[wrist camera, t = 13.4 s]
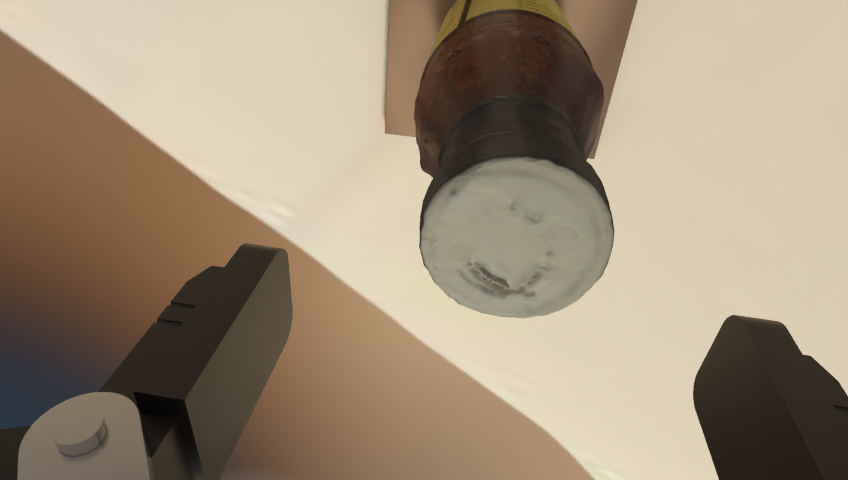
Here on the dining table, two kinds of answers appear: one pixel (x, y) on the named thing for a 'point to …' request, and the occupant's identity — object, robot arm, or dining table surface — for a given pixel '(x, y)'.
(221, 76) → the dining table surface
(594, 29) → the walnut board
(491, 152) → the sauce bottle
